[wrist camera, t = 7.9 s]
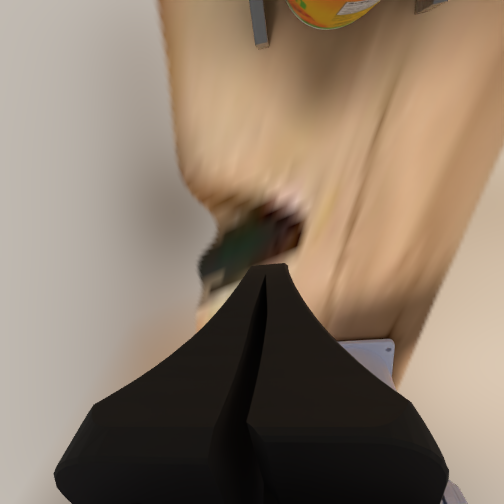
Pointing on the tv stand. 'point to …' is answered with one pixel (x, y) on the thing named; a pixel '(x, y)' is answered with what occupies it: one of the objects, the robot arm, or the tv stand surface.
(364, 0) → the supplement bottle
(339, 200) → the tv stand surface
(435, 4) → the seating bay
